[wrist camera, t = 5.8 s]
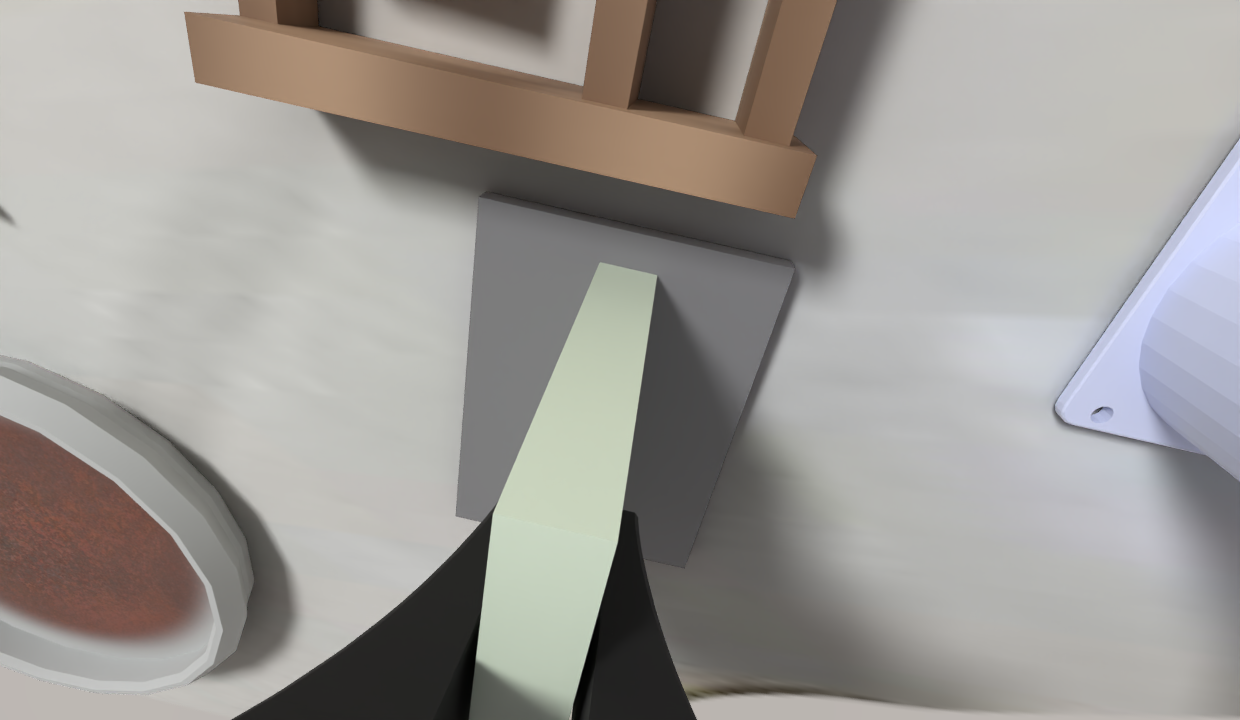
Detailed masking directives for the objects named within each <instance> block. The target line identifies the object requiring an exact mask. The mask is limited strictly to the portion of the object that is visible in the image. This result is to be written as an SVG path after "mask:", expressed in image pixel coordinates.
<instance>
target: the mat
mask: <svg viewBox="0 0 1240 720" xmlns="http://www.w3.org/2000/svg"><path fill="white" fill-rule="evenodd" d="M600 262H601V263H606V264H610V265H615V266H619V267H623V268H628V269H632V270H637V271H641V272H645V273H650V274H654V275H657V280H656V287H655V294H654V301H653V307H652V314H651V321H650V328H649V334H648V341H647V348H646V355H645V361H644V368H643V375H642V382H641V388H640V395H639V402H638V409H637V415H636V422H635V429H634V436H633V442H632V449H631V456H630V463H629V469H628V476H627V483H626V490H625V496H624V503H623V510H627V511H631V512H635V514H636V515H637V516H638V524H639V535H640V542H641V549H642V554H643V559H646V560H650V561H655V562H659V563H664V564H668V565H672V566H677V567H681V568H685V565H686V563H687V560H688V557H689V555H690V552H691V549H692V546H693V544H694V541H695V538H696V536H697V533H698V530H699V528H700V525H701V522H702V519H703V517H704V514H705V511H706V509H707V506H708V503H709V501H710V498H711V495H712V492H713V490H714V487H715V484H716V482H717V479H718V476H719V474H720V471H721V468H722V465H723V463H724V460H725V457H726V455H727V452H728V449H729V447H730V444H731V441H732V439H733V436H734V433H735V430H736V428H737V425H738V422H739V420H740V417H741V414H742V412H743V409H744V406H745V403H746V401H747V398H748V395H749V393H750V390H751V387H752V385H753V382H754V379H755V376H756V374H757V371H758V368H759V366H760V363H761V360H762V358H763V355H764V352H765V349H766V347H767V344H768V341H769V339H770V336H771V333H772V331H773V328H774V325H775V322H776V320H777V317H778V314H779V312H780V309H781V306H782V304H783V301H784V298H785V295H786V293H787V290H788V287H789V285H790V282H791V279H792V277H793V274H794V271H795V267H794V265H793V263H792V261H789V260H785V259H781V258H776V257H772V256H767V255H763V254H759V253H754V252H750V251H745V250H741V249H737V248H732V247H728V246H723V245H719V244H715V243H710V242H706V241H701V240H697V239H693V238H688V237H684V236H679V235H675V234H671V233H666V232H662V231H657V230H653V229H649V228H644V227H640V226H635V225H631V224H627V223H622V222H618V221H613V220H609V219H605V218H600V217H596V216H591V215H587V214H583V213H578V212H574V211H569V210H565V209H561V208H556V207H552V206H547V205H543V204H539V203H534V202H530V201H525V200H521V199H517V198H512V197H508V196H503V195H499V194H495V193H490V192H485V193H484V194H482V195H481V196H480V197H479V201H478V215H477V229H476V242H475V256H474V270H473V284H472V298H471V312H470V325H469V339H468V353H467V367H466V381H465V394H464V408H463V422H462V436H461V450H460V464H459V477H458V491H457V505H456V516H457V517H461V518H466V519H470V520H474V521H479V522H482V521H483V520H484V519H485V517H486V516H487V515H488V514H489V512H490V511H491V510H492V509H493V507H494V506H495V505H496V503H497V502H498V501H499V498H500V496H501V494H502V491H503V489H504V487H505V484H506V482H507V480H508V477H509V475H510V472H511V470H512V468H513V465H514V463H515V461H516V458H517V456H518V454H519V451H520V449H521V447H522V444H523V442H524V440H525V437H526V435H527V432H528V430H529V428H530V425H531V423H532V421H533V418H534V416H535V414H536V411H537V409H538V407H539V404H540V402H541V399H542V397H543V395H544V392H545V390H546V388H547V385H548V383H549V381H550V378H551V376H552V374H553V371H554V369H555V367H556V364H557V362H558V359H559V357H560V355H561V352H562V350H563V348H564V345H565V343H566V341H567V338H568V336H569V334H570V331H571V329H572V326H573V324H574V322H575V319H576V317H577V315H578V312H579V310H580V308H581V305H582V303H583V301H584V298H585V296H586V294H587V291H588V289H589V286H590V284H591V282H592V279H593V277H594V275H595V272H596V270H597V268H598V265H599V263H600Z"/></svg>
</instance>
